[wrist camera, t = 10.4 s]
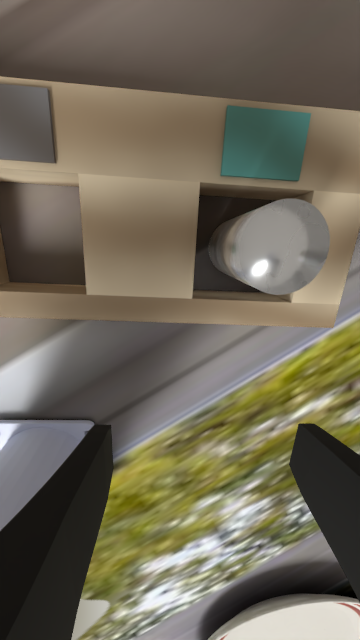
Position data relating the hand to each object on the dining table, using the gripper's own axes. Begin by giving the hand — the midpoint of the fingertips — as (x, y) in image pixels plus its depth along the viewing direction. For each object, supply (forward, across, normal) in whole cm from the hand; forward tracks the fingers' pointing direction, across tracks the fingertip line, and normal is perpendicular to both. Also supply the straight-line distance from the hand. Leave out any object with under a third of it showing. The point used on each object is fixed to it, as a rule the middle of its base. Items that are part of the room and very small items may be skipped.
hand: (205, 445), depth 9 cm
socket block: (+9, +3, -8) cm, 13 cm away
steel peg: (+9, -3, -7) cm, 12 cm away
